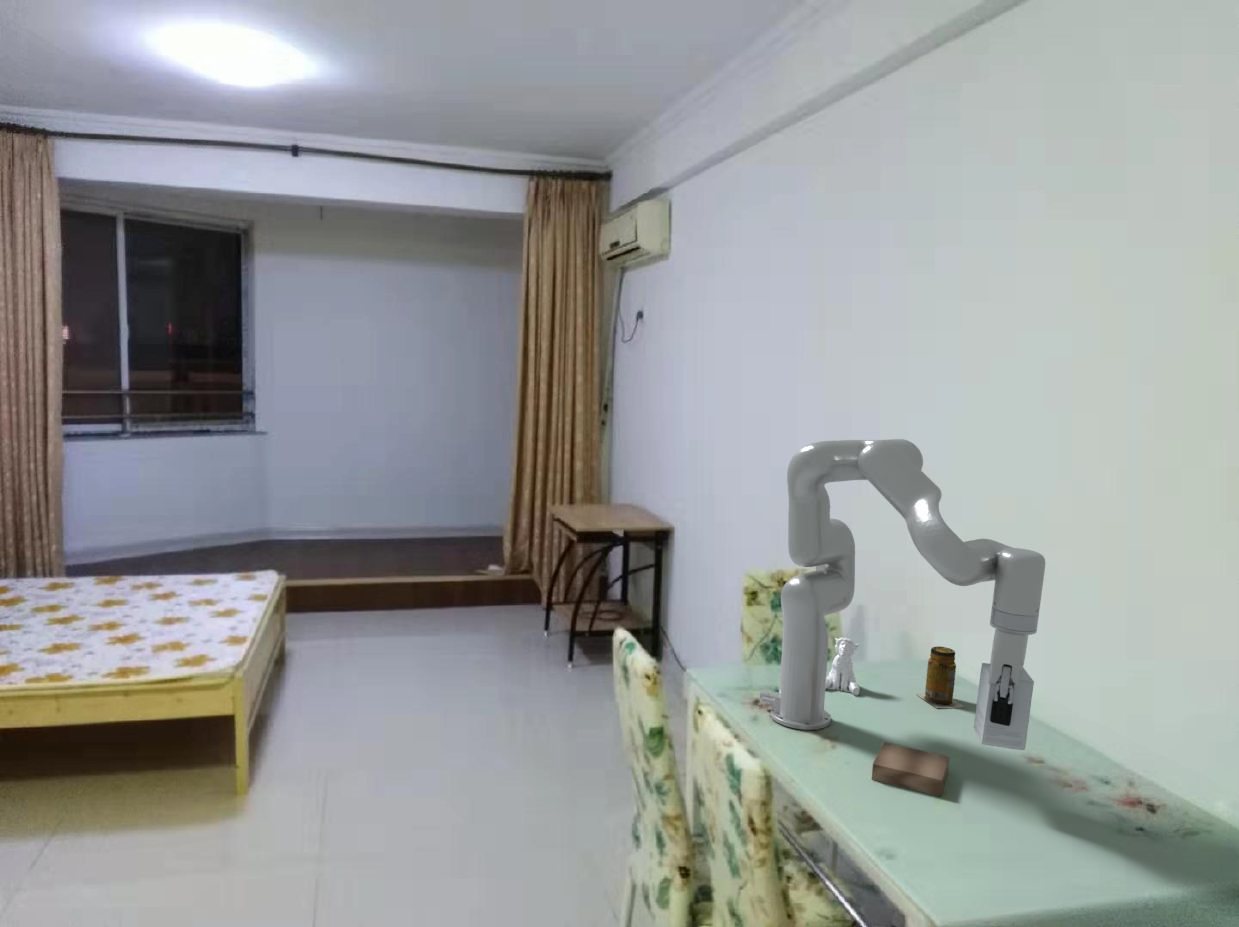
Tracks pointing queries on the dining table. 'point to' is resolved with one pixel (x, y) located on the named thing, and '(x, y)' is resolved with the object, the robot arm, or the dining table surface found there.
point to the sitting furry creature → (843, 668)
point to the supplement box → (1018, 727)
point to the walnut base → (911, 768)
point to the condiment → (941, 679)
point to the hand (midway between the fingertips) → (1001, 714)
